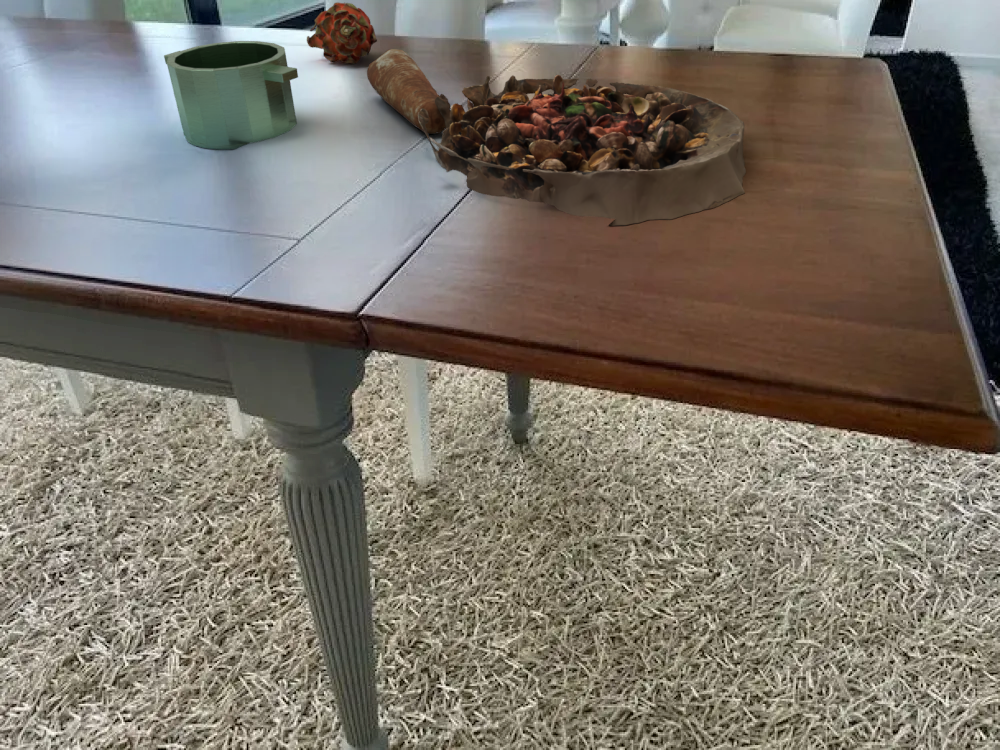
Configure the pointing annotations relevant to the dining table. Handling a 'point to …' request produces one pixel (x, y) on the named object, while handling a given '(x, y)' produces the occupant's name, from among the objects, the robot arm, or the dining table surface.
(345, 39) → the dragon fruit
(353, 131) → the dining table surface
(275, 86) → the pot
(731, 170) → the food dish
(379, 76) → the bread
